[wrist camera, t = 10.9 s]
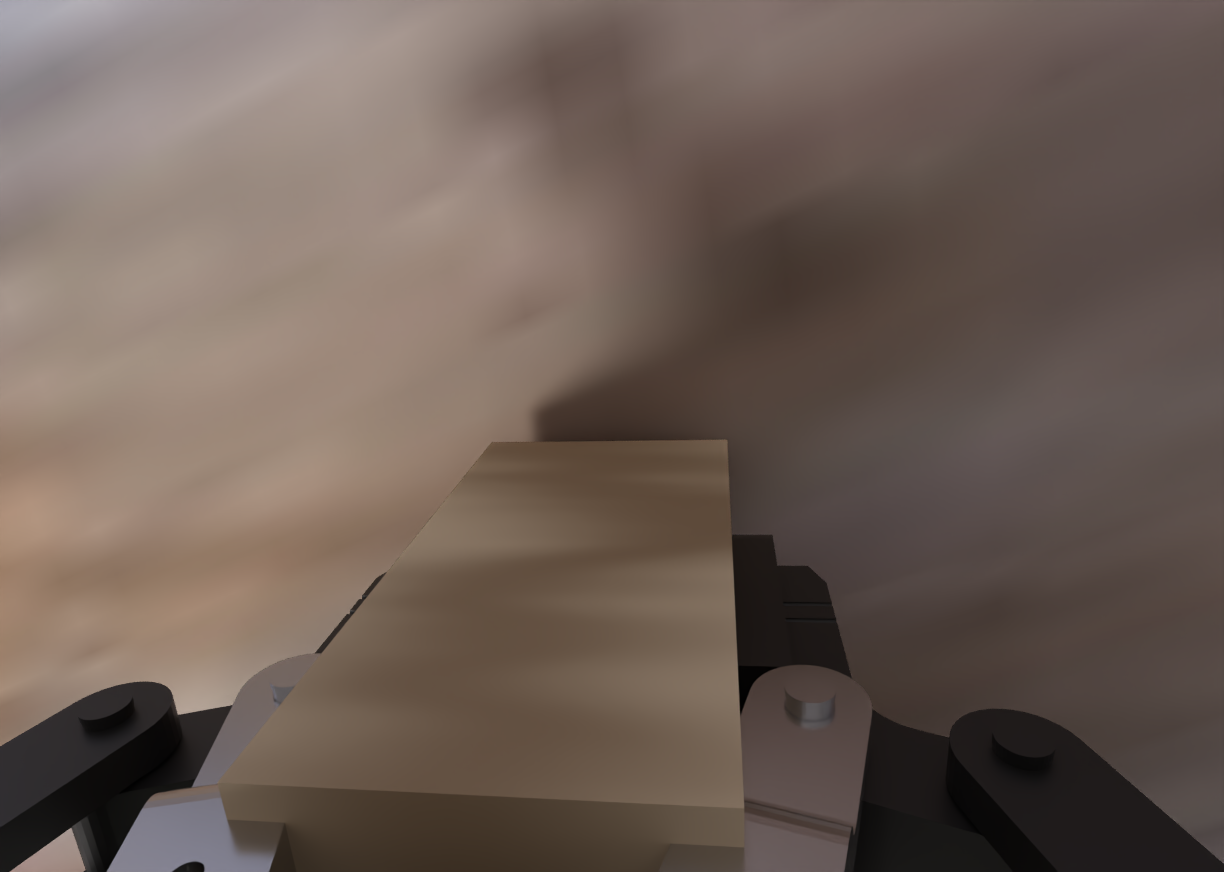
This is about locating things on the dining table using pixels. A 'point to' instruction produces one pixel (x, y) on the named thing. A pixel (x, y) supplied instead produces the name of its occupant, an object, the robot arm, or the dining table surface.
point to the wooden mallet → (525, 679)
